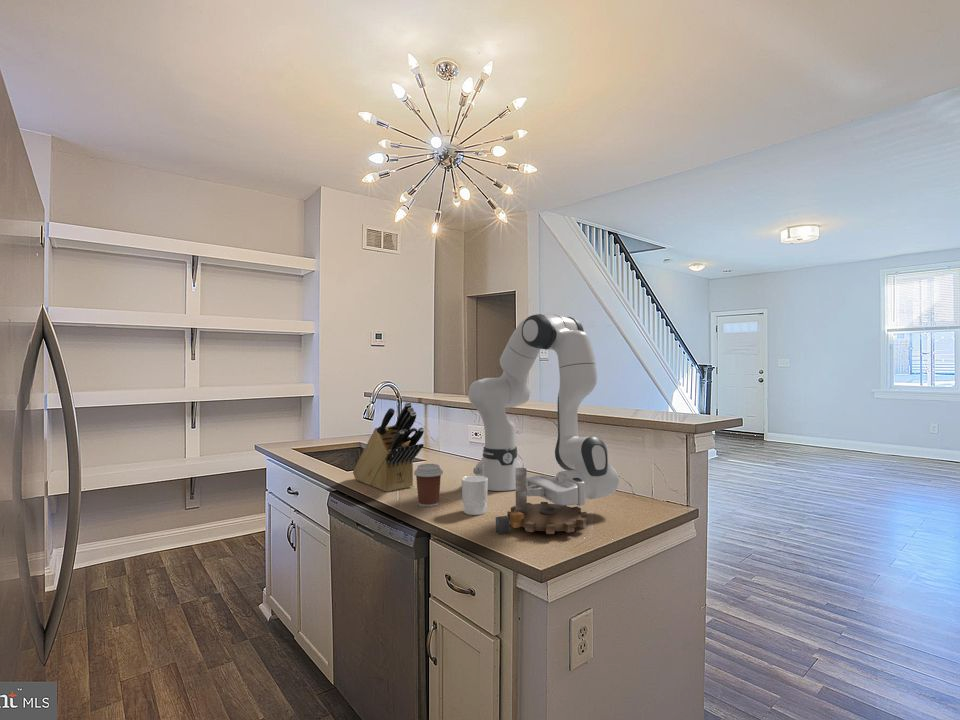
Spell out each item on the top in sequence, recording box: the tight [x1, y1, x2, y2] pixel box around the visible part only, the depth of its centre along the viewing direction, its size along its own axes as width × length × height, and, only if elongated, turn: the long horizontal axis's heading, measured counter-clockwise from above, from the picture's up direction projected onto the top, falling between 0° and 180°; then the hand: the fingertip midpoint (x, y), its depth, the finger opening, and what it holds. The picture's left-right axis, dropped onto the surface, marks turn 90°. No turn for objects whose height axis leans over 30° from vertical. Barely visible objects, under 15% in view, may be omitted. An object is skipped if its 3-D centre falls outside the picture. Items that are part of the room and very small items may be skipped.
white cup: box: [461, 475, 488, 516], centre depth 152 cm, size 8×8×10 cm
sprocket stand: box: [495, 515, 510, 535], centre depth 136 cm, size 8×19×4 cm, turn 113°
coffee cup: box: [413, 463, 444, 507], centre depth 161 cm, size 9×9×12 cm
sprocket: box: [506, 467, 588, 535], centre depth 138 cm, size 22×22×14 cm
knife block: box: [352, 401, 425, 493], centre depth 184 cm, size 11×35×31 cm, turn 39°
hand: (524, 492), depth 140 cm, fingers closed
